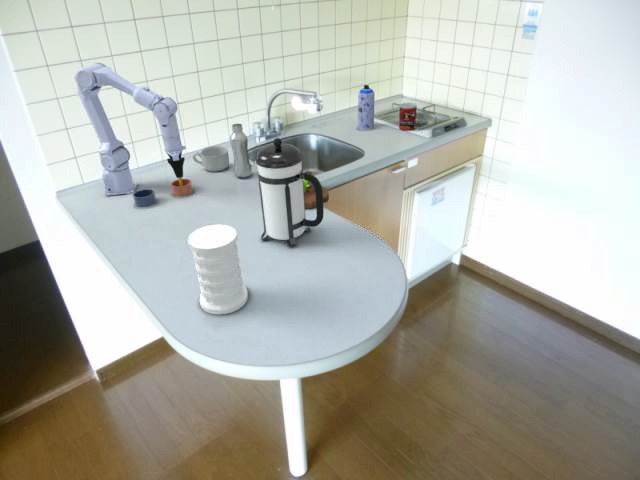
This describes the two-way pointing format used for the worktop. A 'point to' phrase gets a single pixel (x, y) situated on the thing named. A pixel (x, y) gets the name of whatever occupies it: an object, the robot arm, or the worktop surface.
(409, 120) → the canned food
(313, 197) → the plant
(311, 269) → the worktop surface
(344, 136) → the worktop surface
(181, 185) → the pencil
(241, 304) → the decorative container
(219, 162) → the teacup
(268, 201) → the coffee press
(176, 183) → the right pot
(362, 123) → the aerosol can
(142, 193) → the left pot
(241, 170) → the plastic bottle
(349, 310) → the worktop surface
